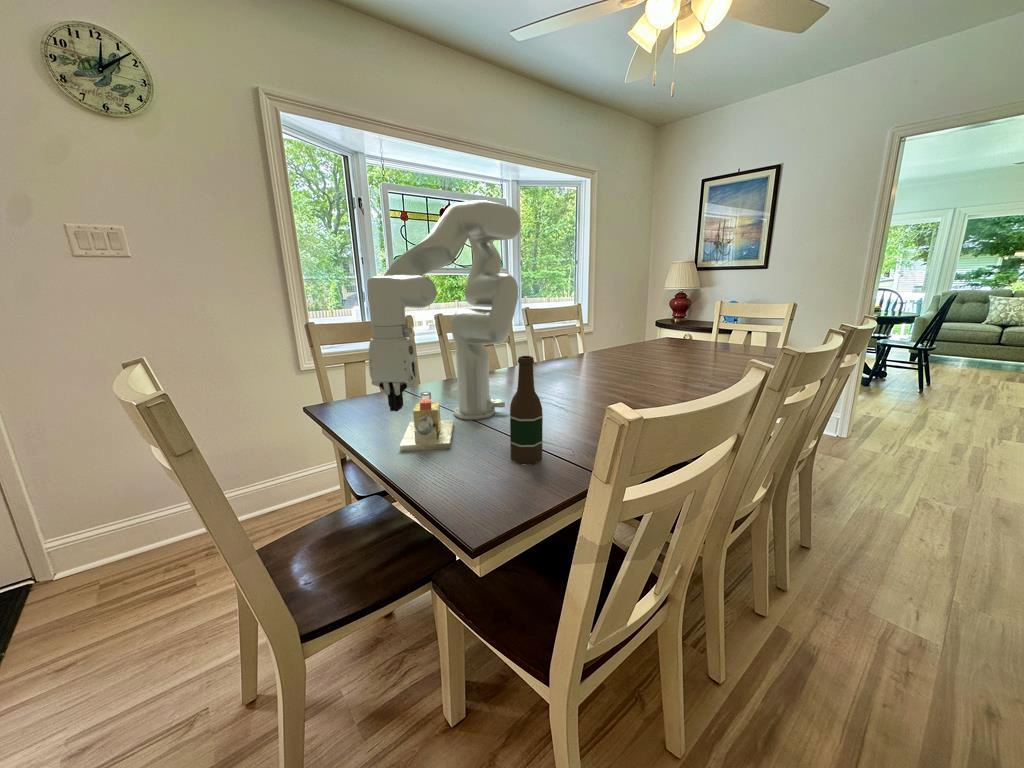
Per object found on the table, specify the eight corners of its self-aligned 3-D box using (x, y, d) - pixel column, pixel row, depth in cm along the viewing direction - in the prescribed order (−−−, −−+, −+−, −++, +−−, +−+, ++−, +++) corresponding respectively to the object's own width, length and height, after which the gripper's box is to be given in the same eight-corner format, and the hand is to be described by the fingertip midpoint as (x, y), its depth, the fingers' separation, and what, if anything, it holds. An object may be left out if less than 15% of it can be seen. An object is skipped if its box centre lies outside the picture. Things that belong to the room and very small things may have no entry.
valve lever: (421, 398, 103) (420, 391, 102) (431, 397, 103) (430, 390, 103) (420, 410, 93) (419, 403, 93) (431, 409, 94) (430, 402, 93)
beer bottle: (517, 468, 87) (516, 362, 81) (504, 454, 94) (502, 355, 87) (548, 461, 90) (550, 358, 84) (533, 448, 97) (533, 352, 90)
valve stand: (453, 424, 113) (451, 389, 110) (450, 448, 97) (447, 408, 94) (410, 426, 112) (407, 391, 109) (400, 451, 96) (396, 410, 93)
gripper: (427, 330, 92) (431, 405, 97) (367, 330, 94) (374, 403, 99) (414, 335, 85) (420, 416, 89) (349, 334, 87) (359, 413, 92)
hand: (396, 409), depth 94 cm, fingers closed
